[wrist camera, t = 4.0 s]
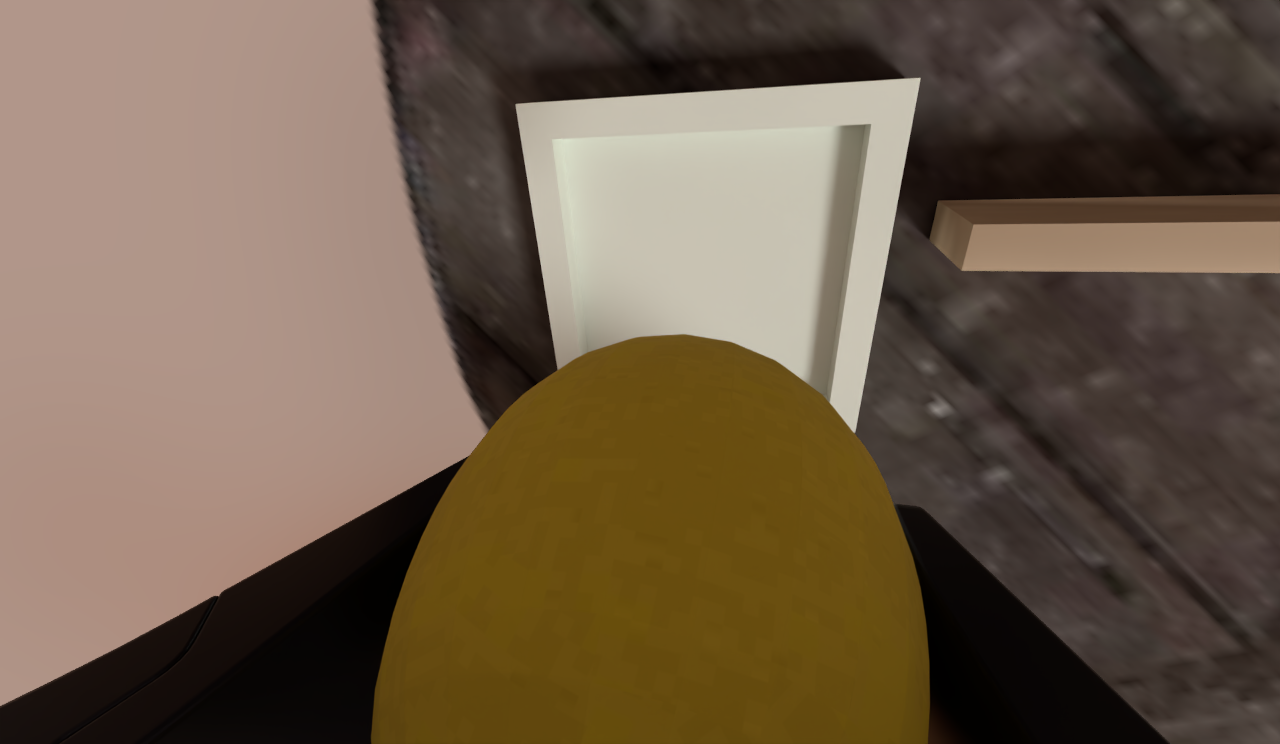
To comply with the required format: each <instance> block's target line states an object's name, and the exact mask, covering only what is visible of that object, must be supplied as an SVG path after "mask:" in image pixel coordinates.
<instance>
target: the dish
mask: <svg viewBox="0 0 1280 744" xmlns="http://www.w3.org/2000/svg"><path fill="white" fill-rule="evenodd" d="M920 79H921V78H900V79H885V80H869V81H854V82H838V83H823V84H807V85H792V86H776V87H761V88H746V89H730V90H715V91H699V92H684V93H668V94H653V95H637V96H622V97H606V98H591V99H576V100H560V101H545V102H531V103H520V104H515V105H516V111H517V117H518V124H519V130H520V136H521V143H522V149H523V155H524V161H525V168H526V174H527V180H528V187H529V193H530V199H531V206H532V212H533V218H534V224H535V231H536V237H537V243H538V250H539V256H540V262H541V268H542V275H543V281H544V287H545V294H546V300H547V306H548V313H549V319H550V325H551V331H552V338H553V344H554V350H555V357H556V363H557V369H558V370H559V369H560V368H562V367H563V366H565V365H566V364H568V363H569V362H571V361H572V360H574V359H576V358H577V357H579V356H581V355H583V354H585V353H587V352H590V351H593V350H597V349H600V348H603V347H606V346H609V345H612V344H615V343H619V342H622V341H625V340H628V339H631V338H636V337H643V336H660V335H677V334H687V335H693V336H699V337H705V338H711V339H717V340H723V341H729V342H733V343H735V344H738V345H740V346H742V347H745V348H747V349H750V350H752V351H754V352H757V353H759V354H762V355H764V356H766V357H769V358H771V359H774V360H776V361H777V362H779V363H780V364H782V365H783V366H784V367H786V368H787V369H788V370H790V371H791V372H792V373H794V374H795V375H796V376H798V377H799V378H801V379H802V380H803V381H805V382H806V383H807V384H809V385H810V386H811V387H813V388H814V389H815V390H817V391H818V392H819V393H821V394H822V395H823V396H824V397H825V398H826V399H827V400H828V402H829V403H830V404H831V405H832V406H833V407H834V409H835V410H836V411H837V412H838V414H839V415H840V416H841V417H842V419H843V420H844V421H845V422H846V424H847V425H848V426H849V427H850V429H851V430H852V431H853V432H854V433H855V430H856V425H857V420H858V414H859V409H860V403H861V398H862V393H863V387H864V382H865V376H866V371H867V365H868V360H869V355H870V349H871V344H872V338H873V333H874V328H875V322H876V317H877V311H878V306H879V301H880V295H881V290H882V284H883V279H884V273H885V268H886V263H887V257H888V252H889V246H890V241H891V236H892V230H893V225H894V219H895V214H896V208H897V203H898V198H899V192H900V187H901V181H902V176H903V171H904V165H905V160H906V154H907V149H908V144H909V138H910V133H911V127H912V122H913V116H914V111H915V106H916V100H917V95H918V89H919V84H920Z"/></svg>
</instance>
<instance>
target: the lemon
mask: <svg viewBox="0 0 1280 744" xmlns="http://www.w3.org/2000/svg"><path fill="white" fill-rule="evenodd" d="M929 712H930V680H929V653H928V640H927V628H926V619H925V613H924V606H923V600H922V594H921V588H920V584H919V580H918V576H917V572H916V568H915V564H914V560H913V556H912V554H911V551H910V548H909V545H908V543H907V540H906V537H905V534H904V531H903V529H902V526H901V523H900V521H899V518H898V515H897V513H896V510H895V507H894V505H893V502H892V499H891V497H890V494H889V491H888V489H887V486H886V484H885V482H884V480H883V478H882V475H881V473H880V471H879V469H878V467H877V465H876V463H875V462H874V460H873V459H872V457H871V456H870V454H869V453H868V451H867V449H866V448H865V446H864V445H863V444H862V442H861V441H860V440H859V439H858V437H857V436H856V435H855V434H854V432H853V431H852V430H851V429H850V427H849V426H848V425H847V424H846V422H845V421H844V420H843V419H842V417H841V416H840V415H839V414H838V412H837V411H836V410H835V409H834V407H833V406H832V405H831V404H830V403H829V402H828V400H827V399H826V398H825V397H824V396H823V395H822V394H821V393H819V392H818V391H817V390H815V389H814V388H813V387H811V386H810V385H809V384H807V383H806V382H805V381H803V380H802V379H801V378H799V377H798V376H796V375H795V374H794V373H792V372H791V371H790V370H788V369H787V368H786V367H784V366H783V365H782V364H780V363H779V362H777V361H776V360H774V359H771V358H769V357H766V356H764V355H762V354H759V353H757V352H754V351H752V350H750V349H747V348H745V347H742V346H740V345H738V344H735V343H733V342H729V341H723V340H717V339H711V338H705V337H699V336H693V335H687V334H677V335H660V336H643V337H636V338H631V339H628V340H625V341H622V342H619V343H615V344H612V345H609V346H606V347H603V348H600V349H597V350H593V351H590V352H587V353H585V354H583V355H581V356H579V357H577V358H576V359H574V360H572V361H571V362H569V363H568V364H566V365H565V366H563V367H562V368H560V369H559V370H557V371H556V372H554V373H553V374H551V375H550V376H548V377H547V378H545V379H544V380H542V381H541V382H539V383H538V384H536V385H535V386H534V387H532V388H531V389H530V390H528V391H527V392H526V393H524V394H523V395H522V396H521V397H520V398H519V399H518V400H516V401H515V402H514V403H513V404H512V405H511V406H510V407H509V408H508V409H507V410H506V411H505V412H504V414H503V415H502V416H501V417H500V418H499V419H498V421H497V422H496V423H495V424H494V425H493V426H492V428H491V429H490V430H489V431H488V433H487V434H486V435H485V437H484V438H483V439H482V441H481V442H480V443H479V444H478V445H477V447H476V448H475V449H474V451H473V452H472V453H471V455H470V456H469V457H468V458H467V459H466V461H465V462H464V464H463V465H462V466H461V468H460V469H459V471H458V472H457V474H456V475H455V477H454V478H453V479H452V481H451V482H450V484H449V486H448V487H447V489H446V491H445V493H444V494H443V496H442V498H441V500H440V501H439V503H438V505H437V506H436V508H435V510H434V512H433V514H432V516H431V519H430V521H429V523H428V525H427V527H426V529H425V531H424V533H423V535H422V537H421V539H420V542H419V544H418V547H417V549H416V551H415V554H414V556H413V559H412V561H411V564H410V566H409V568H408V571H407V573H406V576H405V579H404V582H403V585H402V588H401V591H400V594H399V597H398V600H397V603H396V606H395V609H394V612H393V616H392V620H391V624H390V628H389V632H388V636H387V640H386V643H385V648H384V652H383V656H382V661H381V665H380V670H379V674H378V678H377V683H376V687H375V695H374V707H373V720H372V732H371V744H928V730H929Z"/></svg>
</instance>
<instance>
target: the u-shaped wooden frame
mask: <svg viewBox="0 0 1280 744" xmlns="http://www.w3.org/2000/svg"><path fill="white" fill-rule="evenodd" d="M929 240H930V241H931V242H932V243H933V244H934V245H935V246H936V247H937V248H938V249H939V250H940V251H941V252H942V253H943V254H944V255H946V256H947V257H948V258H949V259H950V260H951V261H952V262H953V263H954V264H955V265H956V266H957V267H958V268H959V269H960V270H961V271H1079V272H1217V273H1280V194H1264V195H1211V196H1157V197H1103V198H1050V199H996V200H942V201H938V203H937V208H936V212H935V217H934V221H933V226H932V230H931V235H930V239H929Z"/></svg>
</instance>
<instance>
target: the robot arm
mask: <svg viewBox="0 0 1280 744" xmlns="http://www.w3.org/2000/svg"><path fill="white" fill-rule="evenodd" d="M468 457H469V456H468ZM468 457H466V458H465V459H463V460H461V461H459V462H457V463H455V464H453V465H452V466H450V467H448V468H446V469H444V470H442V471H441V472H439V473H437V474H435V475H434V476H432V477H430V478H428V479H426V480H424V481H423V482H421V483H419V484H417V485H415V486H413V487H412V488H410V489H408V490H406V491H404V492H403V493H401V494H399V495H397V496H395V497H394V498H392V499H390V500H388V501H386V502H384V503H382V504H381V505H379V506H377V507H375V508H373V509H372V510H370V511H368V512H366V513H364V514H362V515H361V516H359V517H357V518H355V519H354V520H352V521H350V522H348V523H346V524H344V525H342V526H341V527H339V528H337V529H335V530H333V531H332V532H330V533H328V534H326V535H324V536H322V537H321V538H319V539H317V540H315V541H314V542H312V543H310V544H308V545H306V546H304V547H303V548H301V549H299V550H297V551H295V552H293V553H292V554H290V555H288V556H286V557H284V558H282V559H281V560H279V561H277V562H275V563H273V564H272V565H270V566H268V567H266V568H264V569H262V570H261V571H259V572H257V573H255V574H253V575H251V576H250V577H248V578H246V579H244V580H242V581H241V582H239V583H237V584H235V585H234V586H231V587H230V588H228V589H226V590H224V591H223V592H222V593H221V594H220V596H219V597H218V596H213V597H211V598H209V599H208V600H206V601H204V602H202V603H200V604H199V605H197V606H195V607H193V608H191V609H189V610H188V611H186V612H184V613H182V614H180V615H179V616H177V617H175V618H173V619H171V620H169V621H167V622H165V623H164V624H162V625H160V626H158V627H156V628H154V629H152V630H150V631H149V632H147V633H145V634H143V635H141V636H139V637H137V638H135V639H134V640H132V641H130V642H128V643H126V644H124V645H122V646H120V647H118V648H117V649H115V650H113V651H111V652H109V653H107V654H105V655H103V656H101V657H99V658H97V659H95V660H93V661H91V662H89V663H87V664H85V665H83V666H81V667H79V668H77V669H75V670H73V671H71V672H69V673H67V674H65V675H63V676H61V677H59V678H57V679H55V680H53V681H51V682H49V683H47V684H45V685H43V686H41V687H39V688H37V689H35V690H33V691H30V692H28V693H26V694H24V695H22V696H20V697H18V698H16V699H14V700H12V701H10V702H8V703H6V704H4V705H2V706H0V744H371V732H372V720H373V707H374V695H375V687H376V683H377V678H378V674H379V670H380V665H381V661H382V656H383V652H384V648H385V643H386V640H387V636H388V632H389V628H390V624H391V620H392V616H393V612H394V609H395V606H396V603H397V600H398V597H399V594H400V591H401V588H402V585H403V582H404V579H405V576H406V573H407V571H408V568H409V566H410V564H411V561H412V559H413V556H414V554H415V551H416V549H417V547H418V544H419V542H420V539H421V537H422V535H423V533H424V531H425V529H426V527H427V525H428V523H429V521H430V519H431V516H432V514H433V512H434V510H435V508H436V506H437V505H438V503H439V501H440V500H441V498H442V496H443V494H444V493H445V491H446V489H447V487H448V486H449V484H450V482H451V481H452V479H453V478H454V477H455V475H456V474H457V472H458V471H459V469H460V468H461V466H462V465H463V464H464V462H465V461H466V459H467V458H468ZM893 505H894V507H895V510H896V513H897V515H898V518H899V521H900V523H901V526H902V529H903V531H904V534H905V537H906V540H907V543H908V545H909V548H910V551H911V554H912V556H913V560H914V564H915V568H916V572H917V576H918V580H919V584H920V588H921V594H922V600H923V606H924V613H925V619H926V628H927V640H928V653H929V680H930V712H929V730H928V744H1170V743H1169V742H1168V741H1167V740H1166V739H1165V738H1164V737H1163V736H1162V735H1161V734H1160V733H1159V732H1158V731H1157V730H1156V729H1155V728H1154V727H1152V726H1151V725H1150V724H1149V723H1148V722H1147V721H1146V720H1145V719H1144V718H1143V717H1142V716H1141V715H1140V714H1139V713H1138V712H1137V711H1136V710H1135V709H1134V708H1132V707H1131V706H1130V705H1129V704H1128V703H1127V702H1126V701H1125V700H1124V699H1123V698H1122V697H1121V696H1120V695H1119V694H1118V693H1117V692H1116V691H1115V690H1114V689H1113V688H1111V687H1110V686H1109V685H1108V684H1107V683H1106V682H1105V681H1104V680H1103V679H1102V678H1101V677H1100V676H1099V675H1098V674H1097V673H1096V672H1095V671H1094V670H1093V669H1091V668H1090V667H1089V666H1088V665H1087V664H1086V663H1085V662H1084V661H1083V660H1082V659H1081V658H1080V657H1079V656H1078V655H1077V654H1076V653H1075V652H1074V651H1073V650H1072V649H1070V648H1069V647H1068V646H1067V645H1066V644H1065V643H1064V642H1063V641H1062V640H1061V639H1060V638H1059V637H1058V636H1057V635H1056V634H1055V633H1054V632H1053V631H1052V630H1050V629H1049V628H1048V627H1047V626H1046V625H1045V624H1044V623H1043V622H1042V621H1041V620H1040V619H1039V618H1038V617H1037V616H1036V615H1035V614H1034V613H1033V612H1032V611H1030V610H1029V609H1028V608H1027V607H1026V606H1025V605H1024V604H1023V603H1022V602H1021V601H1020V600H1019V599H1018V598H1017V597H1016V596H1015V595H1014V594H1013V593H1012V592H1011V591H1009V590H1008V589H1007V588H1006V587H1005V586H1004V585H1003V584H1002V583H1001V582H1000V581H999V580H998V579H997V578H996V577H995V576H994V575H993V574H992V573H991V572H989V571H988V570H987V569H986V568H985V567H984V566H983V565H982V564H981V563H980V562H979V561H978V560H977V559H976V558H975V557H974V556H973V555H972V554H971V553H970V552H968V551H967V550H966V549H965V548H964V547H963V546H962V545H961V544H960V543H959V542H958V541H957V540H956V539H955V538H954V537H953V536H952V535H951V534H950V533H948V532H947V531H946V530H945V529H944V528H943V527H942V526H941V525H940V524H939V523H938V522H937V521H936V520H935V519H934V518H933V517H932V516H931V515H930V514H928V513H927V512H926V511H925V510H924V509H922V508H921V507H917V506H910V505H902V504H893Z"/></svg>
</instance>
